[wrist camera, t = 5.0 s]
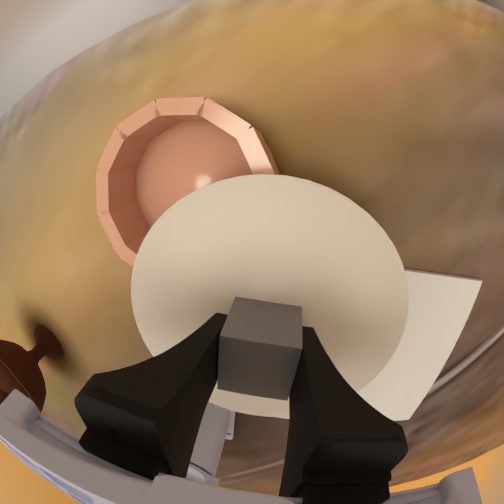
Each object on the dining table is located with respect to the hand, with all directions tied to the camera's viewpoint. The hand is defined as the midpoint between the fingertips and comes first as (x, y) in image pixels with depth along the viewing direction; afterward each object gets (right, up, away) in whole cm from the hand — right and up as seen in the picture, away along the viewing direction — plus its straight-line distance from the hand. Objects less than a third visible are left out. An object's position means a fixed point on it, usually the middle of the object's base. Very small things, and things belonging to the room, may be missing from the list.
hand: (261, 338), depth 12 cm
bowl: (-4, +8, +7) cm, 12 cm away
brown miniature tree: (-28, -8, +17) cm, 33 cm away
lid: (0, 0, +2) cm, 2 cm away
